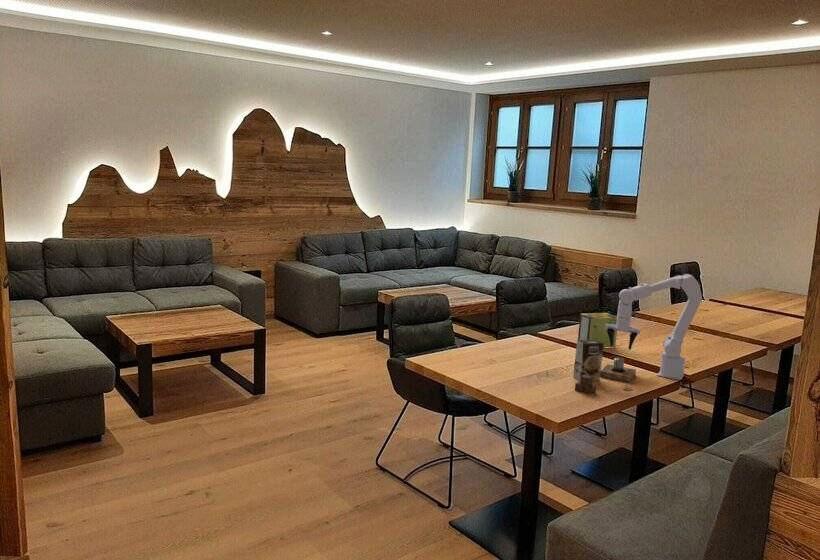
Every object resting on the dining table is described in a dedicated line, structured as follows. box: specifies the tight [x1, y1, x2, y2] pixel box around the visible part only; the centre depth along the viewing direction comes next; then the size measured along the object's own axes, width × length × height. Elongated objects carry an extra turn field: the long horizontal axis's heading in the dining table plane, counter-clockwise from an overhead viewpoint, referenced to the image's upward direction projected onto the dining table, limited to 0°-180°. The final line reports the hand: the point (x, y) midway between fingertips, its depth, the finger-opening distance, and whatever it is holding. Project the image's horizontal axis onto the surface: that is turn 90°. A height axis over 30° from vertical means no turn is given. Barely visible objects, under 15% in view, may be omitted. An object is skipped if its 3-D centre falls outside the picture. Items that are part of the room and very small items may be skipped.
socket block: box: [600, 363, 637, 383], centre depth 270 cm, size 12×12×2 cm
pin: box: [613, 356, 625, 373], centre depth 270 cm, size 4×4×7 cm
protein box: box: [577, 312, 618, 349], centre depth 314 cm, size 10×15×16 cm
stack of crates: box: [574, 374, 597, 396], centre depth 250 cm, size 15×15×7 cm
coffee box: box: [572, 339, 604, 382], centre depth 263 cm, size 9×6×16 cm
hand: (620, 347), depth 278 cm, fingers open, 7 cm apart
